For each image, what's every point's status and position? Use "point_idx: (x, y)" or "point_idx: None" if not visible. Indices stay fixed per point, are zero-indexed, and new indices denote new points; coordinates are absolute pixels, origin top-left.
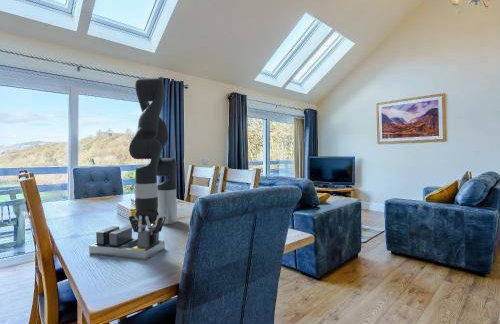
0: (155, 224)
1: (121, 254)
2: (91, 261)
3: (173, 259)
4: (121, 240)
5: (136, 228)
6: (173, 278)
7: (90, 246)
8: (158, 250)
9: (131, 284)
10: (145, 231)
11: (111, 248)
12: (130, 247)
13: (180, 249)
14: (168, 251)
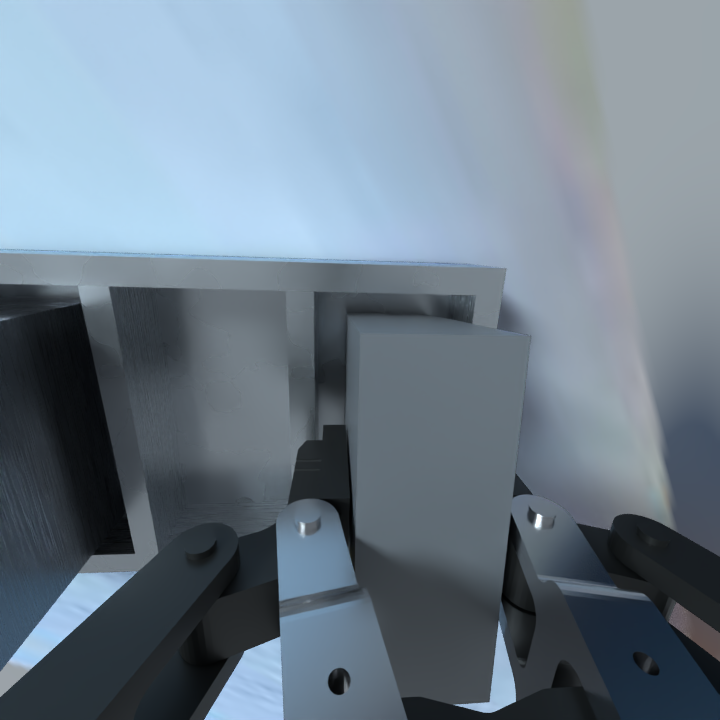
0: (659, 649)
1: None
2: (70, 588)
3: (613, 439)
4: (59, 512)
5: (220, 673)
6: (674, 622)
7: None
8: None
9: (508, 697)
10: (429, 632)
11: (91, 564)
12: (161, 388)
13: (614, 228)
14: (519, 302)
